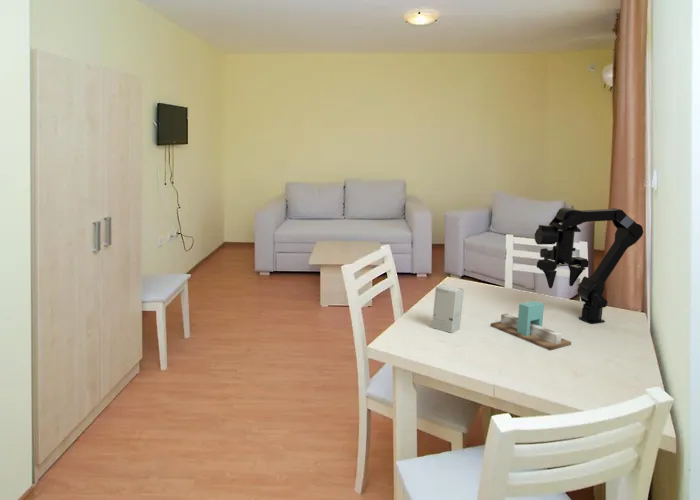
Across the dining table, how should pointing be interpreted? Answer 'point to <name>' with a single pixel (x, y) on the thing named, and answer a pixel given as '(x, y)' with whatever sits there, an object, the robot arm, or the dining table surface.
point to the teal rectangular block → (529, 316)
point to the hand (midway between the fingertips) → (560, 287)
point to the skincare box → (447, 308)
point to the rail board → (530, 337)
